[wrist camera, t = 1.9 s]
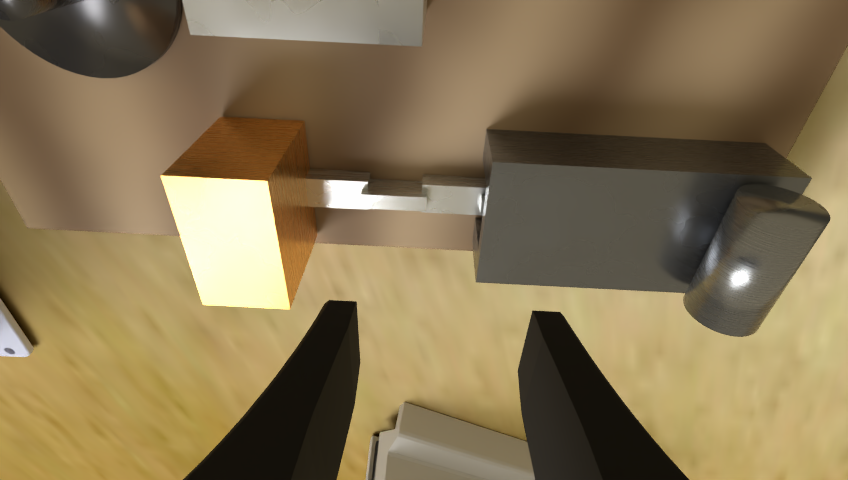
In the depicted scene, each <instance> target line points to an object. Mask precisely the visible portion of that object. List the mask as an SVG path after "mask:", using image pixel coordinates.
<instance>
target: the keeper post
mask: <svg viewBox="0 0 848 480" xmlns="http://www.w3.org/2000/svg"><path fill="white" fill-rule="evenodd" d="M182 11H183V2H182V0H0V27H1V28H2V29H3V30H4V31H5V32H7V33H8V34H9V35H10V36H11V37H12V38H13V39H15V40H16V41H17V42H18V43H20V44H21V45H22V46H24V47H25V48H26V49H28V50H29V51H31V52H32V53H34V54H35V55H37V56H39V57H40V58H42V59H44V60H45V61H47V62H49V63H51V64H53V65H55V66H58V67H60V68H62V69H64V70H67V71H70V72H73V73H76V74H80V75H84V76H88V77H96V78H119V77H125V76H129V75H132V74H135V73H137V72H139V71H141V70H143V69H145V68H147V67H148V66H150V65H152V64H154V63H155V62H156V61H158V60H159V59H160V58H161V57H163V55H164V54H165V53H166V52H167V51H168V50H169V48H170V47H171V45H172V43H173V42H174V40H175V38H176V36H177V33H178V30H179V28H180V23H181V19H182Z"/></svg>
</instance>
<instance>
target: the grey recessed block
mask: <svg viewBox="0 0 848 480" xmlns="http://www.w3.org/2000/svg"><path fill="white" fill-rule="evenodd" d="M182 2H183V6H184V10H185V15H186V19H187V23H188V27H189V31H190V35H202V36H222V37H242V38H262V39H282V40H302V41H321V42H341V43H361V44H381V45H401V46H421V47H422V41H423V34H424V26H425V19H426V12H427V0H182Z"/></svg>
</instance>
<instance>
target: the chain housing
mask: <svg viewBox="0 0 848 480" xmlns="http://www.w3.org/2000/svg"><path fill="white" fill-rule="evenodd" d="M483 166H484V172H485V179H486V185H487V187H486V194H485V202H484V209H483V216H482V218H475V223H474V231H473V239H472V244H473V256H474V267H475V278H476V282H481V283H500V284H520V285H540V286H559V287H579V288H598V289H618V290H637V291H657V292H676V293H685V295H684V299H683V301H684V306H685V308H686V310H687V311H688V312H689V314H690V315H691V316H692V317H693V318H694V319H696V320H697V321H698V322H699V323H701V324H702V325H704V326H706V327H707V328H709V329H711V330H714V331H716V332H719V333H722V334H725V335H730V336H737V337H743V336H749V335H752V334H754V333H755V332H756V331H757V330H758V329H759V327H760V325H761V324H762V322H763V321H764V319H765V318H766V316H767V315H768V313H769V312H770V310H771V309H772V307H773V306H774V304H775V303H776V301H777V300H778V298H779V297H780V295H781V294H782V292H783V291H784V289H785V288H786V286H787V285H788V283H789V282H790V280H791V279H792V277H793V276H794V274H795V273H796V271H797V270H798V268H799V267H800V265H801V264H802V262H803V261H804V259H805V258H806V256H807V255H808V253H809V252H810V250H811V249H812V247H813V246H814V244H815V243H816V241H817V240H818V238H819V236H820V235H821V233H822V232H823V230H824V229H825V227H826V226H827V224H828V223H829V221H830V215H829V213H828V212H827V210H826V209H825V208H824V207H822V206H821V205H820V204H818V203H817V202H815V201H814V200H812V199H810V198H808V197H806V196H804V195H802V194H803V192H804V191H805V189H806V187H807V186H808V184H809V182H810V180H811V179H812V178H811V177H810V176H808V175H807V174H806V173H804V172H803V171H802V170H800V169H799V168H798V167H796V166H795V165H794V164H792V163H791V162H790V161H789V160H787V159H786V158H785V157H783V156H782V155H781V154H779V153H778V152H777V151H775V150H774V149H773V148H771V147H770V146H769V145H767V144H766V143H754V142H734V141H714V140H695V139H675V138H655V137H635V136H616V135H596V134H576V133H556V132H537V131H517V130H497V129H486V136H485V144H484V152H483Z"/></svg>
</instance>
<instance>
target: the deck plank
mask: <svg viewBox="0 0 848 480" xmlns="http://www.w3.org/2000/svg"><path fill="white" fill-rule="evenodd" d="M847 46H848V0H427V12H426V19H425V26H424V34H423V41H422V47H421V46H401V45H381V44H361V43H341V42H321V41H302V40H282V39H262V38H242V37H222V36H202V35H190V31H189V27H188V23H187V19H186V15H185V10H184V6H183V11H182V19H181V23H180V28H179V30H178V33H177V36H176V38H175V40H174V42H173V43H172V45H171V47H170V48H169V50H168V51H167V52H166V53H165V54H164V55H163V57H161V58H160V59H159V60H158V61H156V62H155V63H154V64H152V65H150V66H148V67H147V68H145V69H143V70H141V71H139V72H137V73H135V74H132V75H129V76H125V77H119V78H96V77H88V76H84V75H80V74H76V73H73V72H70V71H67V70H64V69H62V68H60V67H58V66H55V65H53V64H51V63H49V62H47V61H45V60H44V59H42V58H40V57H39V56H37V55H35V54H34V53H32V52H31V51H29V50H28V49H26V48H25V47H24V46H22V45H21V44H20V43H18V42H17V41H16V40H15V39H13V38H12V37H11V36H10V35H9V34H8V33H7V32H5V31H4V30H3V29H2V28H1V27H0V180H1V182H2V184H3V185H4V187H5V189H6V191H7V193H8V194H9V196H10V198H11V200H12V202H13V203H14V205H15V207H16V209H17V211H18V212H19V214H20V216H21V218H22V219H23V221H24V223H25V225H26V227H27V228H35V229H54V230H74V231H94V232H113V233H133V234H152V235H172V236H180V233H179V230H178V227H177V224H176V221H175V218H174V215H173V212H172V209H171V206H170V203H169V200H168V197H167V193H166V190H165V187H164V184H163V181H162V178H161V175H162V174H163V173H164V172H165V171H166V170H167V169H168V168H169V167H170V166H171V165H172V164H173V163H174V162H175V161H176V160H177V159H178V158H179V157H180V156H181V155H182V154H183V153H184V152H185V151H186V150H187V149H188V148H189V147H190V146H191V145H192V144H193V143H194V142H195V141H196V140H197V139H198V138H199V137H200V136H201V135H202V134H203V133H204V132H205V131H206V130H207V129H208V128H209V127H210V126H211V125H212V124H213V123H214V122H215V121H216V120H217V119H218V118H219V117H238V118H258V119H278V120H298V121H304V122H305V130H306V139H307V148H308V156H309V165H310V169H327V170H347V171H367V172H370V179H387V180H407V181H422V179H423V174H426V175H446V176H465V177H485V172H484V166H483V152H484V144H485V136H486V129H497V130H517V131H537V132H556V133H576V134H596V135H616V136H635V137H655V138H675V139H695V140H714V141H734V142H754V143H766V144H767V145H769V146H770V147H771V148H773V149H774V150H775V151H777V152H778V153H779V154H781V155H782V156H783V157H785V158H787V156H788V154H789V152H790V150H791V148H792V147H793V145H794V143H795V141H796V139H797V137H798V136H799V134H800V132H801V130H802V128H803V126H804V124H805V123H806V121H807V119H808V117H809V115H810V113H811V112H812V110H813V108H814V106H815V104H816V102H817V101H818V99H819V97H820V95H821V93H822V91H823V90H824V88H825V86H826V84H827V82H828V80H829V79H830V77H831V75H832V73H833V71H834V69H835V68H836V66H837V64H838V62H839V60H840V58H841V57H842V55H843V53H844V51H845V49H846V47H847ZM314 209H315V217H316V226H317V238H316V240H315V243H329V244H348V245H368V246H387V247H407V248H427V249H446V250H466V251H473V244H472V239H473V231H474V223H475V218H482V216H483V215H464V214H445V213H425V212H421V211H405V210H385V209H369V210H366V209H346V208H327V207H314Z"/></svg>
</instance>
